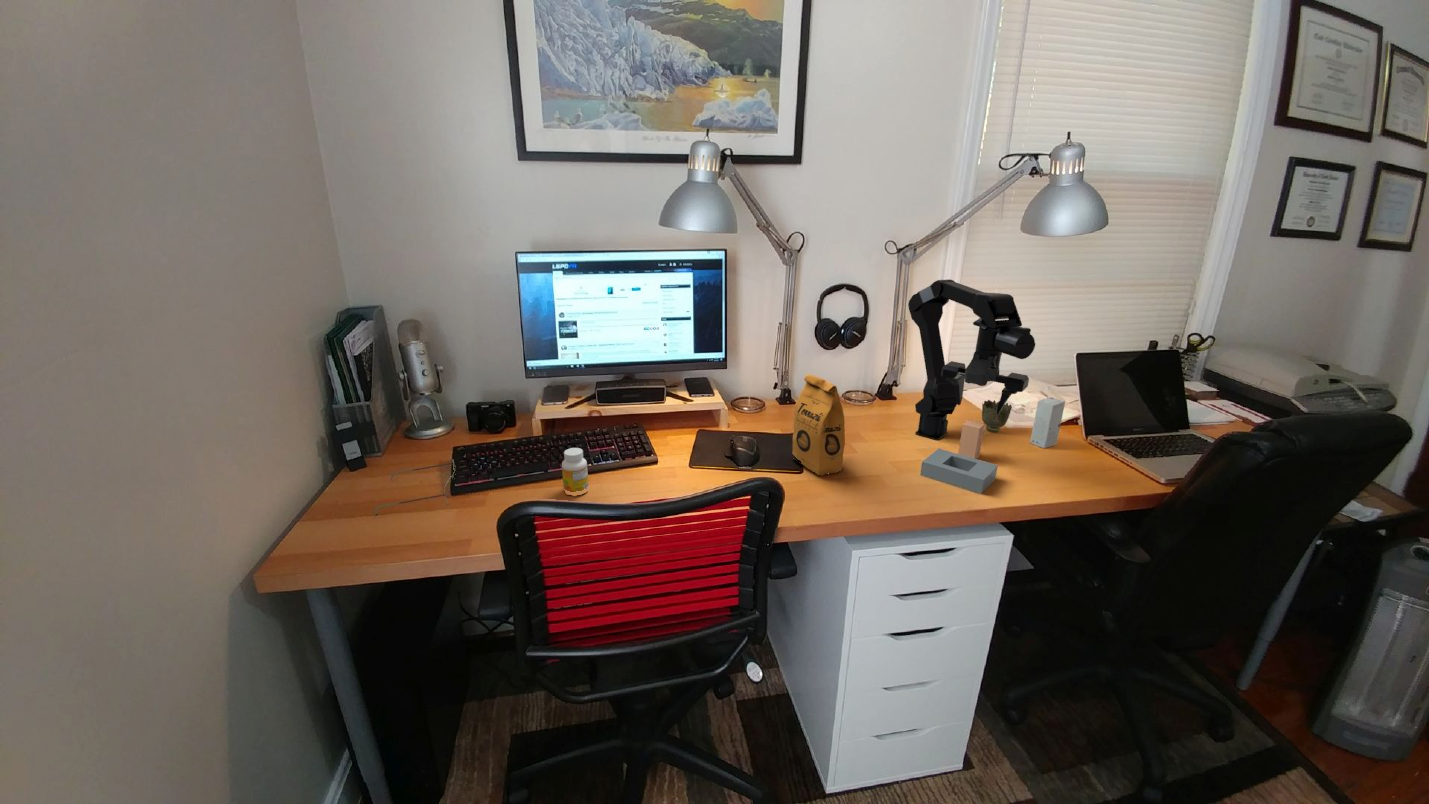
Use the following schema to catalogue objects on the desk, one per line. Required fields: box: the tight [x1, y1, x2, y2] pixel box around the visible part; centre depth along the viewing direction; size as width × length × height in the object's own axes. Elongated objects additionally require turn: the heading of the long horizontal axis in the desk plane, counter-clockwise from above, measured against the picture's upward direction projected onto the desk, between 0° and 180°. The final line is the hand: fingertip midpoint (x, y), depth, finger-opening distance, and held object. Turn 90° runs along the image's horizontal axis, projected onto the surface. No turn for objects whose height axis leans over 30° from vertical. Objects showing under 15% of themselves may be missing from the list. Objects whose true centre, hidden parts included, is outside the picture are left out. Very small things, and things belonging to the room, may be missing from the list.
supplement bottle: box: [561, 447, 589, 492], centre depth 131 cm, size 5×5×10 cm
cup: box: [981, 399, 1013, 433], centre depth 166 cm, size 8×7×8 cm
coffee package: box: [791, 373, 846, 476], centre depth 142 cm, size 10×12×22 cm
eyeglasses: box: [374, 458, 456, 514], centre depth 131 cm, size 16×15×5 cm
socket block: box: [919, 448, 999, 495], centre depth 140 cm, size 14×10×4 cm
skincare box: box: [1029, 397, 1066, 449], centre depth 158 cm, size 6×4×12 cm
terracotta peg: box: [957, 419, 986, 459], centre depth 150 cm, size 4×4×9 cm
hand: (978, 409), depth 147 cm, fingers open, 9 cm apart
